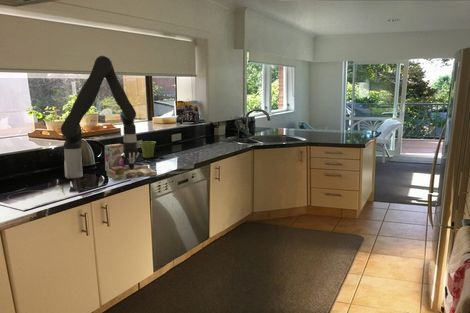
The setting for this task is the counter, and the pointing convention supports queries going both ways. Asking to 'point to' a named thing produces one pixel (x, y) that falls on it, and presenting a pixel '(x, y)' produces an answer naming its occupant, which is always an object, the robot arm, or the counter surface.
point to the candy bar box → (113, 155)
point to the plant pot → (148, 148)
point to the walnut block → (118, 169)
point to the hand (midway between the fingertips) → (131, 169)
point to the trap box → (131, 173)
